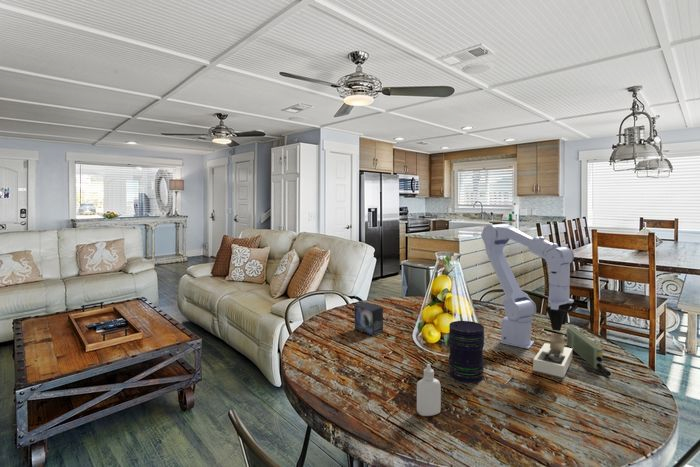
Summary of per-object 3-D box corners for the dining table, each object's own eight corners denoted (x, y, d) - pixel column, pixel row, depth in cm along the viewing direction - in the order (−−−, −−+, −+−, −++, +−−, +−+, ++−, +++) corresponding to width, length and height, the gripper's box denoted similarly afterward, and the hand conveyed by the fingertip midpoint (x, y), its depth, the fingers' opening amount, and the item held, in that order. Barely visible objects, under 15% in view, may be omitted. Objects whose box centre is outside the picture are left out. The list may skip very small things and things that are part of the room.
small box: (353, 330, 151) (353, 304, 150) (365, 326, 156) (364, 301, 155) (372, 336, 144) (372, 309, 143) (384, 332, 148) (383, 306, 147)
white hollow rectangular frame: (563, 378, 108) (563, 366, 108) (533, 371, 113) (533, 359, 113) (572, 359, 120) (572, 348, 120) (544, 353, 125) (544, 342, 125)
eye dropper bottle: (417, 406, 95) (417, 359, 94) (440, 408, 93) (441, 362, 92) (416, 415, 91) (416, 367, 90) (440, 418, 89) (440, 369, 88)
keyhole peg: (547, 360, 119) (548, 336, 119) (550, 355, 123) (551, 332, 122) (563, 363, 117) (564, 339, 116) (565, 359, 120) (566, 335, 119)
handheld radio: (575, 345, 133) (615, 378, 108) (565, 345, 133) (603, 378, 109) (575, 326, 132) (615, 355, 108) (565, 326, 133) (602, 355, 108)
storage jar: (483, 370, 114) (484, 322, 113) (483, 385, 105) (484, 333, 103) (449, 366, 117) (450, 319, 116) (447, 380, 108) (447, 329, 107)
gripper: (569, 290, 112) (569, 335, 113) (577, 282, 123) (577, 323, 124) (543, 287, 116) (543, 331, 117) (553, 280, 128) (553, 319, 128)
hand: (558, 326), depth 121 cm, fingers open, 7 cm apart
